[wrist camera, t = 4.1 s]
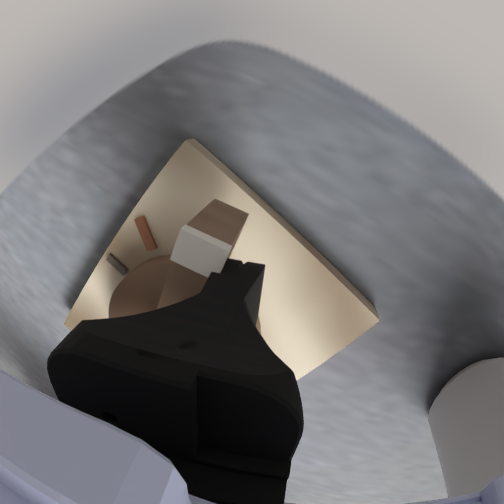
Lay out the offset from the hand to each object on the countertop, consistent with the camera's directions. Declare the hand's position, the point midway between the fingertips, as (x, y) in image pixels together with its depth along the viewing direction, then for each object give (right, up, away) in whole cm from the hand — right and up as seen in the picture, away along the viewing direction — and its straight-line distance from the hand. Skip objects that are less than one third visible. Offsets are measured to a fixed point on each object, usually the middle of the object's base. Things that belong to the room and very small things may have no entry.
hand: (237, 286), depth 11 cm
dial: (-2, -1, +4) cm, 5 cm away
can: (+16, -9, +6) cm, 19 cm away
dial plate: (-2, -2, +6) cm, 7 cm away
